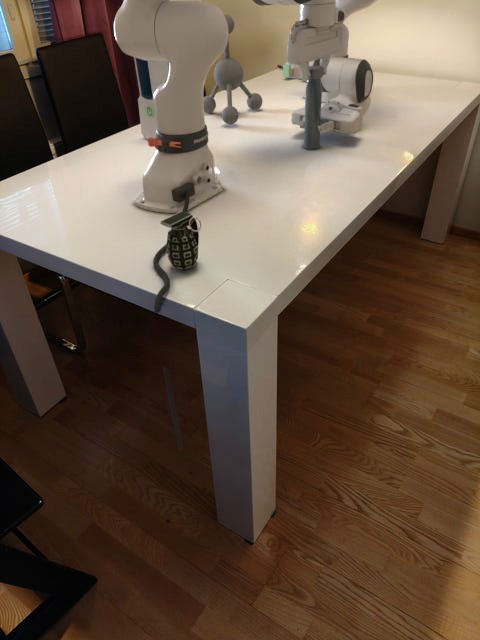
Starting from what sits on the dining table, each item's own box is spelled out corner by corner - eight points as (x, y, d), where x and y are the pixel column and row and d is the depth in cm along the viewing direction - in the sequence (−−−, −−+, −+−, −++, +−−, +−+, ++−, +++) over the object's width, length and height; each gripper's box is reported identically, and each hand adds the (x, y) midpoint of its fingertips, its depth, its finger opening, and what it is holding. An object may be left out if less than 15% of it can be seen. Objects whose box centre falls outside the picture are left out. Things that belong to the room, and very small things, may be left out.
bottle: (322, 148, 139) (326, 69, 127) (308, 150, 138) (311, 72, 125) (314, 143, 142) (317, 67, 130) (301, 146, 141) (303, 69, 129)
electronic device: (141, 137, 154) (123, 28, 136) (159, 131, 158) (144, 24, 140) (166, 145, 147) (151, 30, 129) (185, 138, 151) (172, 26, 133)
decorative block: (304, 51, 222) (344, 54, 212) (304, 67, 226) (343, 70, 216) (274, 62, 206) (316, 65, 196) (274, 78, 210) (315, 83, 200)
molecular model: (282, 115, 166) (282, 11, 148) (228, 129, 157) (221, 20, 138) (243, 102, 182) (239, 7, 163) (192, 114, 173) (181, 15, 154)
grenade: (182, 278, 88) (175, 228, 82) (162, 268, 91) (153, 219, 85) (208, 263, 92) (203, 214, 85) (187, 253, 95) (181, 205, 89)
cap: (316, 74, 131) (317, 65, 130) (325, 77, 128) (326, 67, 126) (303, 76, 130) (303, 67, 128) (311, 79, 126) (312, 69, 125)
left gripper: (302, 23, 113) (300, 87, 121) (349, 12, 124) (345, 71, 133) (280, 21, 116) (280, 84, 125) (328, 11, 128) (325, 69, 136)
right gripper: (306, 99, 148) (280, 110, 139) (367, 107, 137) (343, 120, 129) (305, 120, 151) (280, 132, 143) (365, 130, 141) (341, 144, 133)
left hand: (314, 77), depth 129 cm, fingers open, 6 cm apart
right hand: (310, 127), depth 136 cm, fingers closed on bottle, 4 cm apart
